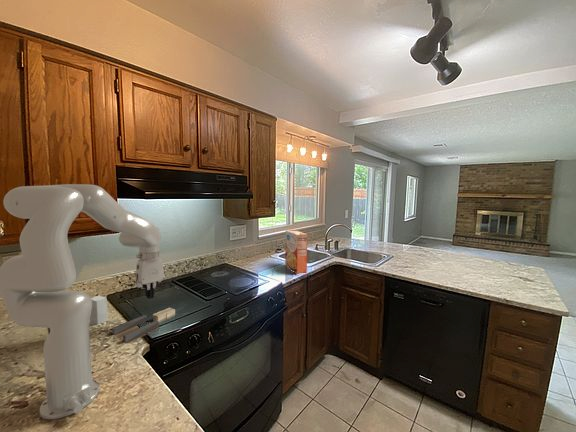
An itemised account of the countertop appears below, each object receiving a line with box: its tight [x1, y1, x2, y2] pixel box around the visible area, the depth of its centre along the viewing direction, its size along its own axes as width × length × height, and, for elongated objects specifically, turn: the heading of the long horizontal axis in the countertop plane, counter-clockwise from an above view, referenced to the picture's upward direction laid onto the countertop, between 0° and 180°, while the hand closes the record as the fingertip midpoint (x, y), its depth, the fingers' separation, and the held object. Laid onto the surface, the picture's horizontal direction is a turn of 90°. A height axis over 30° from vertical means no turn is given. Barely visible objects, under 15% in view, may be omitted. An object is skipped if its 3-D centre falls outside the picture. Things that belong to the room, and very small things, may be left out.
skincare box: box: [89, 295, 109, 326], centre depth 109 cm, size 6×4×12 cm
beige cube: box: [162, 307, 176, 320], centre depth 114 cm, size 4×4×4 cm
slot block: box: [111, 314, 161, 345], centre depth 102 cm, size 13×13×4 cm
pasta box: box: [284, 229, 308, 275], centre depth 190 cm, size 23×8×30 cm, turn 22°
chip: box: [152, 310, 168, 324], centre depth 111 cm, size 4×4×4 cm
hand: (150, 297), depth 106 cm, fingers closed
